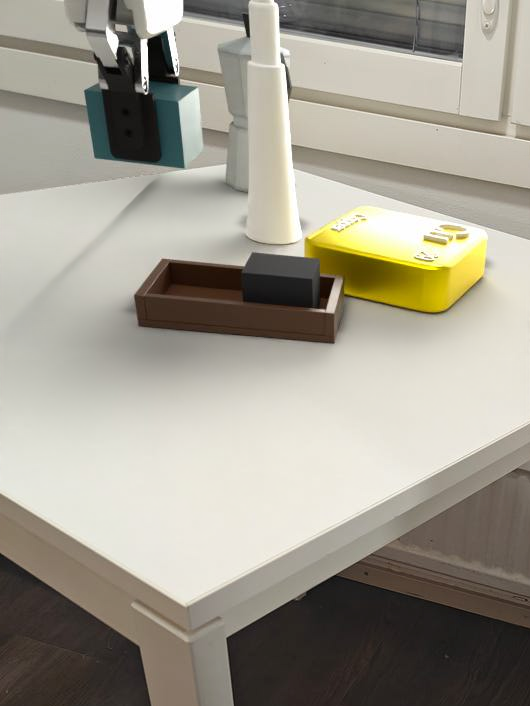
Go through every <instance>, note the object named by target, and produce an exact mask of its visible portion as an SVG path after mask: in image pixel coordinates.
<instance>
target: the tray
mask: <svg viewBox="0 0 530 706" xmlns="http://www.w3.org/2000/svg"><path fill="white" fill-rule="evenodd" d="M244 266H245V265H236V264H235V265H234V264H224V263H214V262H213V263H212V262H203V261H193V260H181V259H171V258H164V257H163V258H161V259H160V261H159V262H158V263H157V265H156V266H155V267H154V268H153V269H152V271H151V273H149V275H148V276H147V277H146V279H145V280H144V281H143V283H142V284H141V285H140V287H139V288H138V289H137V291H136V292H135V293H134V294H133V299H134V305H135V312H136V319H137V325H138V326H139V327H147V328H148V327H150V328H159V329H160V328H161V329H171V330H183V331H195V332H205V333H206V332H207V333H218V334H226V335H227V334H229V335H239V336H240V335H241V336H249V337H261V338H262V337H263V338H272V339H273V338H274V339H283V340H284V339H285V340H296V341H306V342H307V341H308V342H317V343H330V344H335V342H336V337H337V334H338V329H339V326H340V322H341V319H342V314H343V309H344V307H345V294H344V276H341V275H330V274H320V305H319V308H318V309H314V308H303V307H292V306H281V305H270V304H259V303H248V302H243V294H242V279H241V272H242V270H243V268H244Z"/></svg>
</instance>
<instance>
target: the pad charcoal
mask: <svg viewBox="0 0 530 706" xmlns="http://www.w3.org/2000/svg"><path fill="white" fill-rule="evenodd" d="M243 266H244V268H243V270H242V272H241V279H242V294H243V302H248V303H259V304H270V305H281V306H292V307H303V308H314V309H318V308H319V305H320V259H318V258H307V257H305V256H295V255H286V254H285V255H284V254H276V253H275V254H274V253H266V252H256V251H255V252H254V251H252V252H251V254H250V256H249V257H248V259H247V261H246V263H245V265H243Z"/></svg>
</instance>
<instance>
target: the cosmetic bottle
mask: <svg viewBox="0 0 530 706" xmlns="http://www.w3.org/2000/svg"><path fill="white" fill-rule="evenodd" d="M248 12H249V24H250V42H251V61H248V63H247V92H248V143H249V192H247V195H248V197H247V213H246V224H245V235H246V237H248V239H250V240H252V241H254V242H258V243H262V244H266V245H289V244H293V243H297V242H299V241H300V240H301V239H302V237H303V232H302V229H301V223H300V218H299V217H300V216H299V211H298V210H299V209H298V204H297V196H296V187H294V177H293V171H294V166H292V165H293V153H292V142H291V141H292V140H291V128H290V115H289V114H290V113H289V103H288V98H287V86H286V75H285V66H284V65H283V64H282V63H280V47H281V41H280V16H279V5H278V4H277V2H275V0H249V1H248Z"/></svg>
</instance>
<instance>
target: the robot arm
mask: <svg viewBox="0 0 530 706" xmlns="http://www.w3.org/2000/svg"><path fill="white" fill-rule="evenodd" d="M63 4H64V11H65V17H66V20H67V22H68V23H69V24H70V26H71V27H72V28H73V29H74V30H75V31H77V32H80V33H85V35H86V39H87V41H88V44H89V45H90V47H91V49H92V51H93V55H92V56H93V59H94V61H95V62H96V65H97V79H98V83H99V85H100V88H101V91H102V97H103V104H104V111H105V118H106V125H107V132H108V139H109V145H110V152H111V154H112V156H113V157H115V158H117V159H125V160H133V161H142V162H151V163H157V162H158V161H159V160H160V159H161V156H162V155H161V146H160V137H159V128H158V120H157V111H156V102H155V93H148V81H153V82H161V83H170V84H178V85H181V76H179V73H180V63H179V58H178V52H177V47H176V46H177V45H176V41H177V39H176V38H175V37H176V36H177V35H176V31H174V27H176V26H177V25H178V24H179V23H180V22H181V20H182V19H183V14H184V0H63ZM116 25H119V26H125V28H126V31H121V30H117V29H116ZM127 48H130V50H131V53H132V57H131V54H130V52H129V51H128V49H127ZM131 58H132V59H131Z"/></svg>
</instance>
